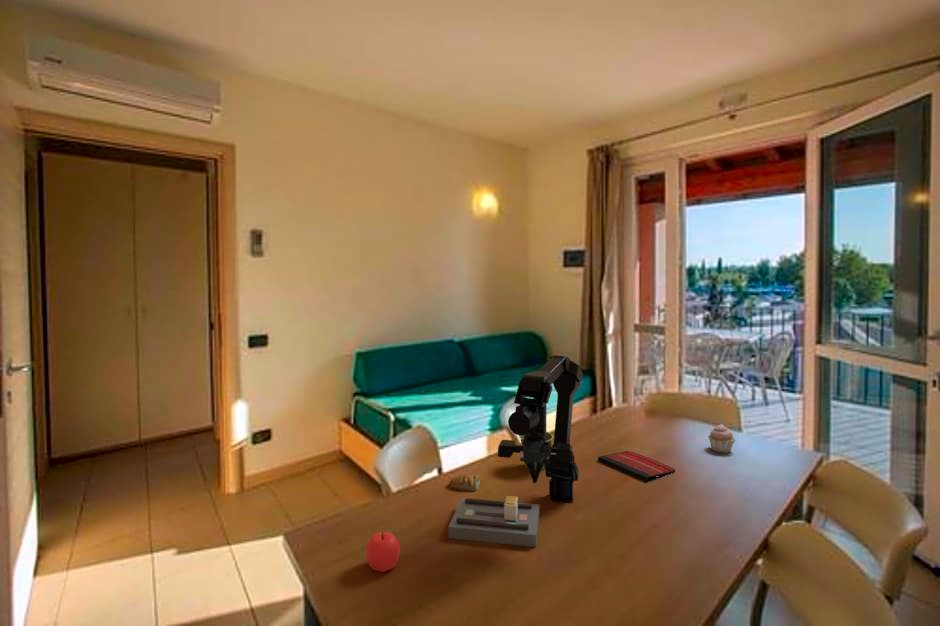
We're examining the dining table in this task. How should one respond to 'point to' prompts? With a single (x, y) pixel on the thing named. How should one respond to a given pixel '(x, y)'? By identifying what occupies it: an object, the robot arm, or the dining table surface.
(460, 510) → the slide switch base
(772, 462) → the dining table surface
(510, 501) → the switch knob
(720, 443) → the cupcake
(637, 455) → the binder
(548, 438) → the plant pot
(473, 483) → the pastry
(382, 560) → the apple
